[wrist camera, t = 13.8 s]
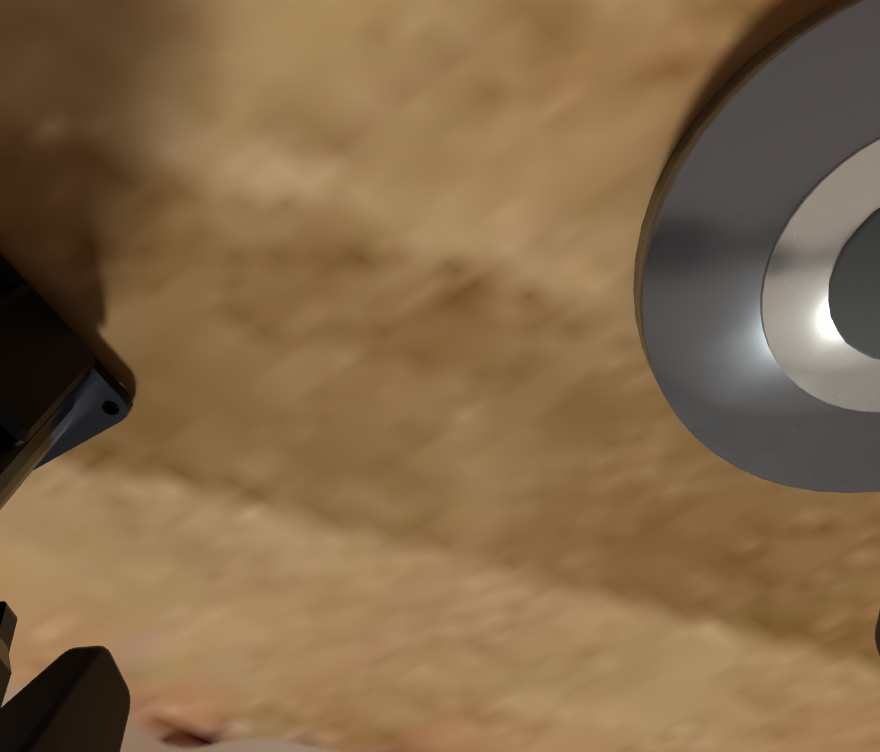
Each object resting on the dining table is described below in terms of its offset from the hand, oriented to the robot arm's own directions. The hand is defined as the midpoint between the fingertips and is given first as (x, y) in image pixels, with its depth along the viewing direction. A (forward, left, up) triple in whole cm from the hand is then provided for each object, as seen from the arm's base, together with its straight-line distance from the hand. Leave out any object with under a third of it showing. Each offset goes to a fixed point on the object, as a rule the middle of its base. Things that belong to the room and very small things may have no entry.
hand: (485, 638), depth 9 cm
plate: (+10, -6, -13) cm, 17 cm away
